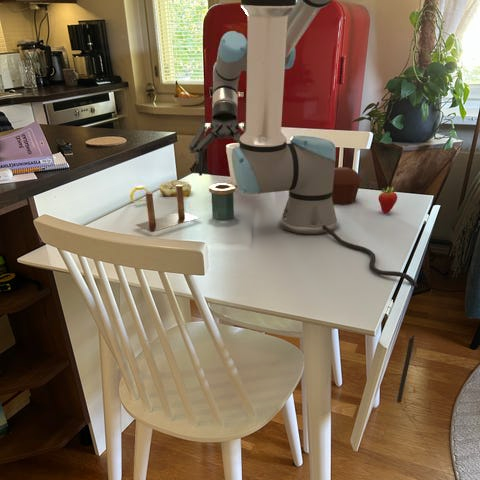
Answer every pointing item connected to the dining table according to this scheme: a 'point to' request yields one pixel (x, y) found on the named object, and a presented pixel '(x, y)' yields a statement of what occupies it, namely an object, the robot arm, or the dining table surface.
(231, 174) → the foam cup
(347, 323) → the dining table surface
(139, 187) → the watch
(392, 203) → the fruit
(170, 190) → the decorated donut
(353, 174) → the muffin
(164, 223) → the spool stand
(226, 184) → the spool
